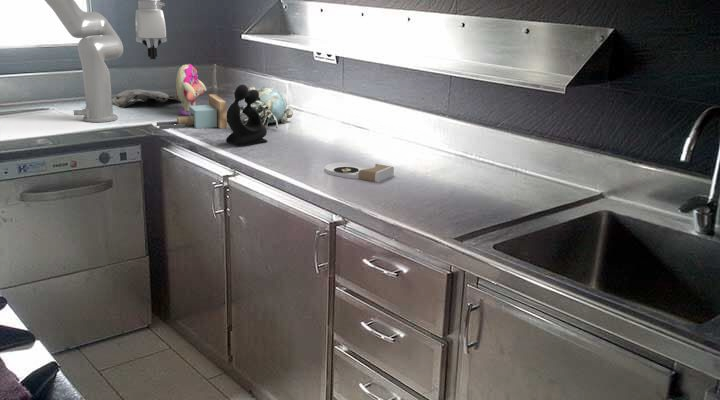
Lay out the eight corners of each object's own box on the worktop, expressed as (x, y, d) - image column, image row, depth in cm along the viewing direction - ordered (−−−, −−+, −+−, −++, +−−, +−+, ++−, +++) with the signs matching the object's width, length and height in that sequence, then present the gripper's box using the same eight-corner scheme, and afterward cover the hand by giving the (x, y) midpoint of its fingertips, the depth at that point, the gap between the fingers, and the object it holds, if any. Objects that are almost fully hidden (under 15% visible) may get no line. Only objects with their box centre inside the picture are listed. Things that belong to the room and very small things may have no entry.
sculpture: (295, 109, 282) (304, 113, 253) (263, 141, 281) (269, 148, 252) (260, 74, 277) (266, 74, 248) (227, 106, 276) (229, 110, 247)
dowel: (178, 128, 261) (178, 122, 258) (176, 121, 263) (176, 114, 260) (204, 127, 265) (205, 120, 262) (202, 120, 267) (203, 113, 264)
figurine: (237, 147, 230) (236, 87, 224) (222, 143, 236) (221, 84, 230) (271, 142, 240) (271, 84, 234) (256, 137, 246) (256, 81, 240)
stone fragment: (118, 100, 315) (117, 86, 313) (184, 100, 319) (183, 85, 317) (108, 109, 290) (106, 93, 288) (179, 108, 295) (178, 93, 293)
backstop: (220, 128, 258) (219, 101, 255) (209, 119, 274) (208, 94, 271) (226, 128, 259) (226, 101, 256) (215, 119, 275) (214, 94, 272)
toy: (195, 119, 274) (193, 68, 268) (173, 118, 274) (170, 67, 268) (209, 108, 298) (208, 60, 292) (189, 107, 298) (186, 60, 292)
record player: (375, 173, 194) (316, 163, 204) (375, 184, 195) (316, 173, 205) (395, 165, 203) (339, 155, 213) (395, 175, 204) (338, 165, 214)
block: (195, 128, 258) (195, 110, 256) (189, 122, 267) (189, 105, 266) (217, 126, 261) (216, 109, 259) (210, 121, 271) (210, 104, 269)
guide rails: (159, 129, 254) (159, 126, 254) (156, 125, 261) (156, 122, 260) (184, 127, 258) (184, 124, 258) (181, 124, 264) (180, 120, 264)
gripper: (169, 5, 251) (172, 57, 256) (126, 5, 245) (129, 58, 250) (173, 6, 244) (175, 59, 250) (128, 6, 238) (132, 60, 244)
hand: (152, 58), depth 250 cm, fingers closed
